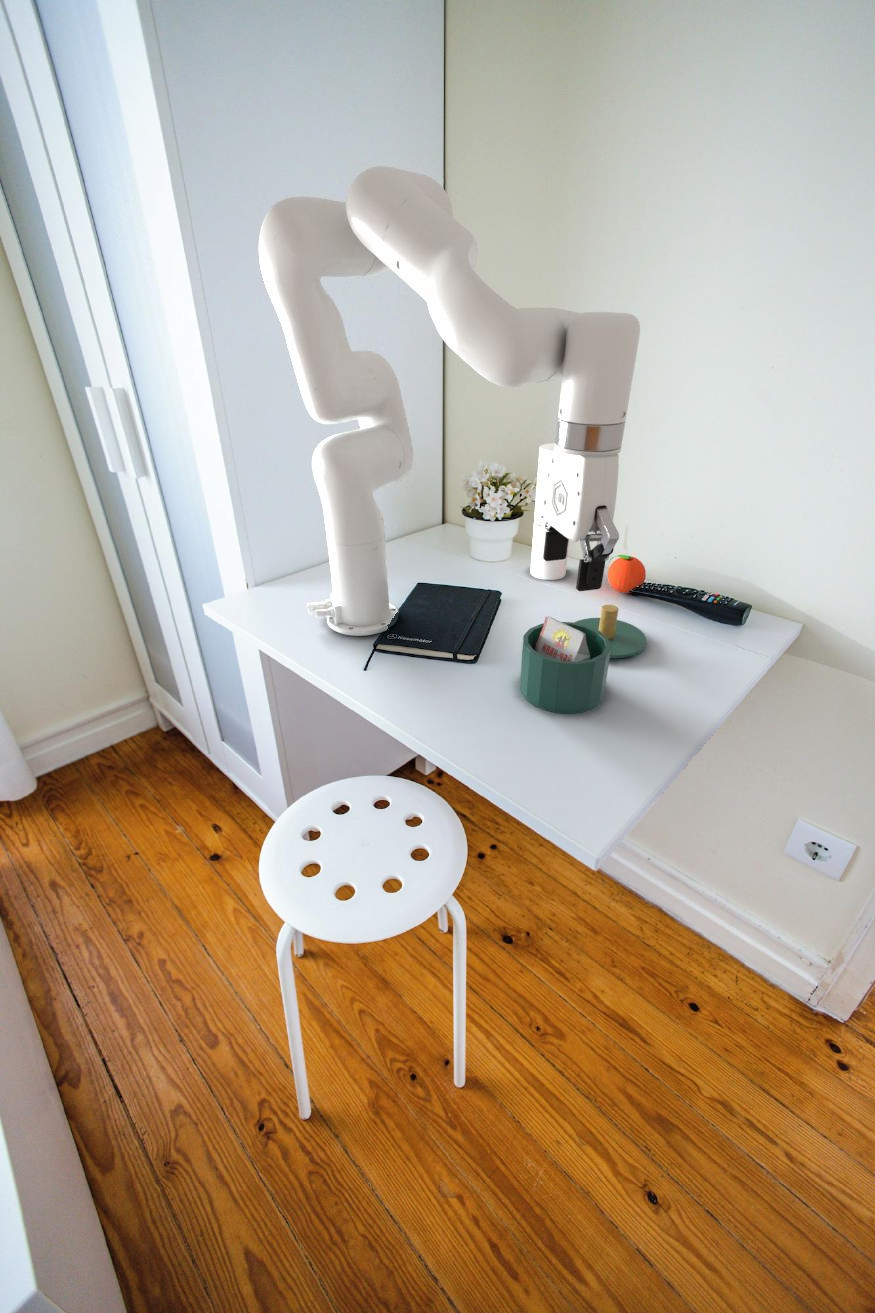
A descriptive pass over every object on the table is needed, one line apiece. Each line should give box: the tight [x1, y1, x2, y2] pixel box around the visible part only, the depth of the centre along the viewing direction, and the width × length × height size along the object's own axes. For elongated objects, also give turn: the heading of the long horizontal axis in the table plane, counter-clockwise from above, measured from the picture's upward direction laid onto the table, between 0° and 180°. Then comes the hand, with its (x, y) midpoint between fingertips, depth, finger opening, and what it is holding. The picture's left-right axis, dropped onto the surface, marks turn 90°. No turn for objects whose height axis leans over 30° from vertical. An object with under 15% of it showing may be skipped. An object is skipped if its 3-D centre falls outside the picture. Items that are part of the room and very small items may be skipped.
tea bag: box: [535, 615, 590, 662], centre depth 84 cm, size 4×7×10 cm, turn 38°
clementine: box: [607, 554, 647, 594], centre depth 114 cm, size 8×7×7 cm
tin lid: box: [573, 604, 648, 659], centre depth 97 cm, size 13×13×6 cm
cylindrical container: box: [530, 442, 570, 581], centre depth 117 cm, size 7×7×25 cm
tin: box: [519, 621, 611, 715], centre depth 85 cm, size 12×12×8 cm
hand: (570, 573), depth 78 cm, fingers open, 9 cm apart
